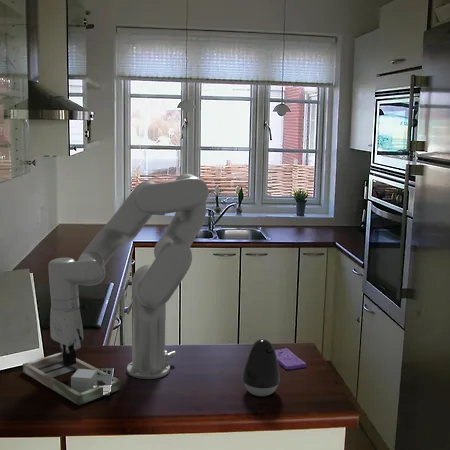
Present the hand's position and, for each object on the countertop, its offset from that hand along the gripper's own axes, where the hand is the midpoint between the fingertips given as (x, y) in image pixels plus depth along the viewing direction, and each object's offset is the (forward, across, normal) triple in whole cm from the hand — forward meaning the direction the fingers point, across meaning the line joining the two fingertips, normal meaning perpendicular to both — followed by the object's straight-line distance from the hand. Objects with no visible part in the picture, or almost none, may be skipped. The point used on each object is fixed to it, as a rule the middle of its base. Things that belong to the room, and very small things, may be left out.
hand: (69, 364), depth 164 cm
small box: (+4, +10, -2) cm, 11 cm away
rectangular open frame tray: (+4, +2, -1) cm, 5 cm away
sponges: (+8, +36, +54) cm, 66 cm away
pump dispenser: (+7, +44, +31) cm, 54 cm away
